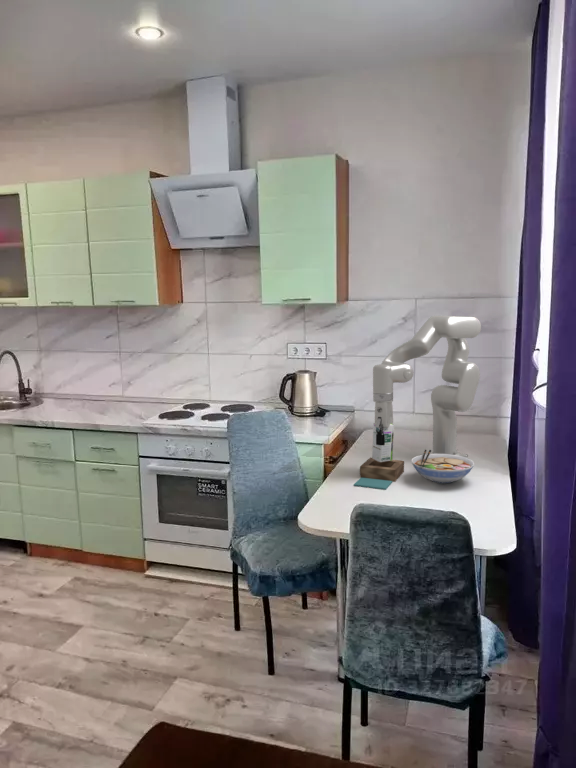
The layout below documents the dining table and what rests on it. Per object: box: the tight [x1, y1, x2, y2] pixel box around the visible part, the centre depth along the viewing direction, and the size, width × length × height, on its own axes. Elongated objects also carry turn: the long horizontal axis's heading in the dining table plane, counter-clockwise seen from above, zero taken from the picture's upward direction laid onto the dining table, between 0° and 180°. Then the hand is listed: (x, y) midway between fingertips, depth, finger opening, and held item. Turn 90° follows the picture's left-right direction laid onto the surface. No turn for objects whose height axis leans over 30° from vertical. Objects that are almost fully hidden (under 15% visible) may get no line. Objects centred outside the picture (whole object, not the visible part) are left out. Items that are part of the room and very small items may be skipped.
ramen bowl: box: [411, 449, 475, 484], centre depth 223 cm, size 25×23×8 cm
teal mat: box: [353, 477, 393, 491], centre depth 220 cm, size 12×9×1 cm
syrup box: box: [371, 422, 395, 462], centre depth 230 cm, size 6×6×14 cm
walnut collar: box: [359, 456, 405, 483], centre depth 231 cm, size 14×14×4 cm
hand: (383, 442), depth 230 cm, fingers closed on syrup box, 7 cm apart
